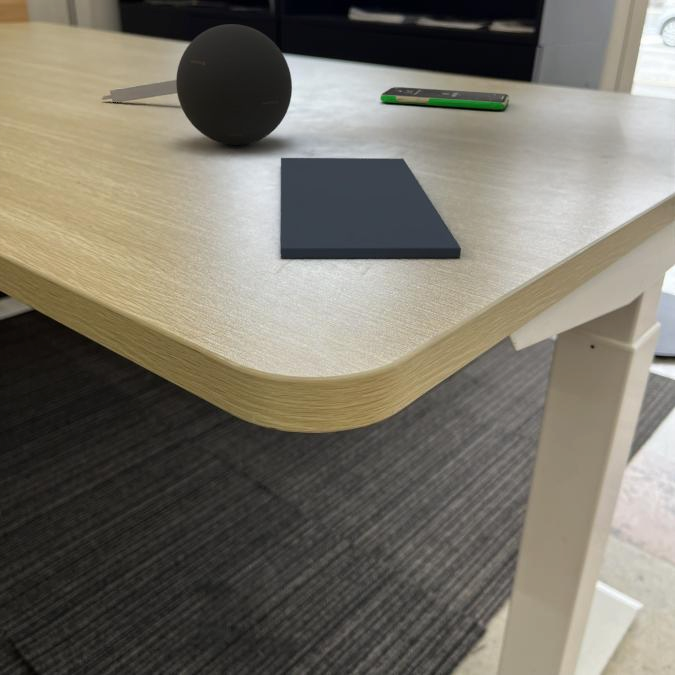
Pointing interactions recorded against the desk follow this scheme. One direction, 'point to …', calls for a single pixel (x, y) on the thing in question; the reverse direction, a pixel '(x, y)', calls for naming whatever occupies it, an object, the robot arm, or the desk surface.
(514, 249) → the desk surface
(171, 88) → the caliper
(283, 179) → the mat
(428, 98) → the smartphone
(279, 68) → the speaker
